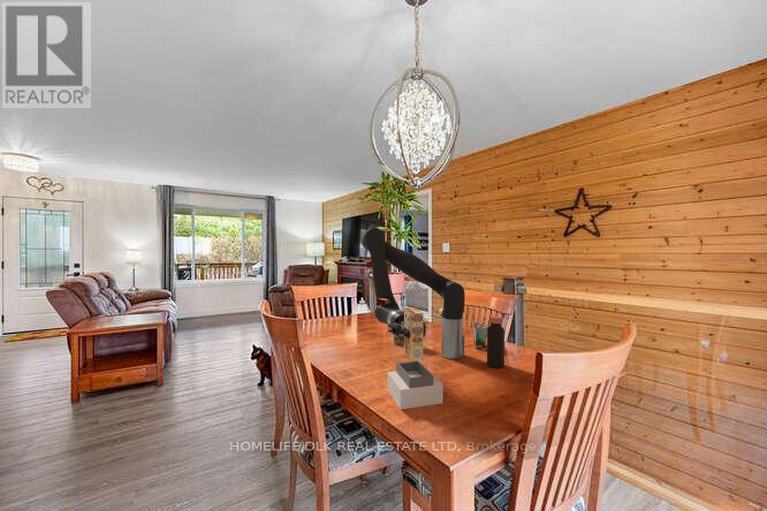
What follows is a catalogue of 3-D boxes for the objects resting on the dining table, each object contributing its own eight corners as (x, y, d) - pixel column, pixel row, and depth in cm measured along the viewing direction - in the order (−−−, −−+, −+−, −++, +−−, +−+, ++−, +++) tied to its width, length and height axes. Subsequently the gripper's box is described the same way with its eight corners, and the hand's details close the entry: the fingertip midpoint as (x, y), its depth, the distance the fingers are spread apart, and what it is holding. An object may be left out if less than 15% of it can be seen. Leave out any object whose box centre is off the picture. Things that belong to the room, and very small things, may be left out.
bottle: (506, 364, 132) (507, 316, 131) (500, 369, 127) (500, 319, 126) (491, 360, 137) (491, 314, 136) (484, 365, 132) (484, 317, 131)
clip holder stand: (425, 384, 114) (425, 359, 114) (442, 403, 101) (442, 375, 100) (387, 389, 110) (387, 363, 110) (400, 409, 97) (400, 380, 96)
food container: (489, 350, 150) (489, 329, 149) (475, 350, 151) (476, 329, 150) (486, 342, 162) (486, 323, 161) (473, 342, 163) (473, 322, 163)
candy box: (423, 360, 101) (424, 312, 100) (411, 361, 100) (411, 313, 100) (414, 351, 110) (415, 307, 109) (403, 352, 109) (403, 307, 108)
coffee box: (393, 344, 160) (392, 312, 160) (399, 340, 166) (399, 310, 165) (409, 347, 155) (409, 314, 155) (415, 343, 161) (415, 312, 160)
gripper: (381, 312, 116) (395, 324, 100) (417, 310, 120) (437, 321, 104) (381, 332, 117) (395, 348, 100) (417, 330, 121) (436, 344, 104)
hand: (416, 334), depth 102 cm, fingers closed on candy box, 4 cm apart
